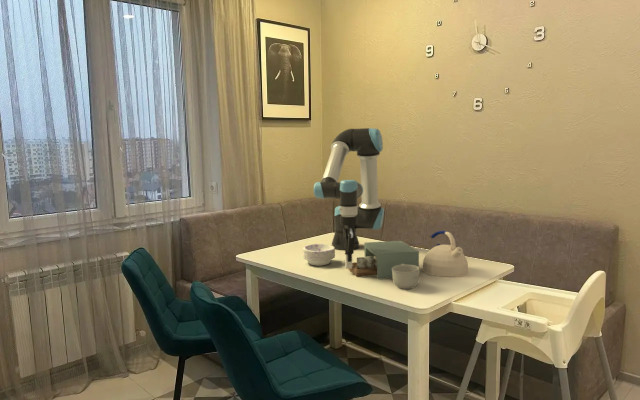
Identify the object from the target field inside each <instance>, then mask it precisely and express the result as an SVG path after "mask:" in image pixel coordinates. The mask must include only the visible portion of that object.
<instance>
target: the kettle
mask: <svg viewBox="0 0 640 400" xmlns="http://www.w3.org/2000/svg"><path fill="white" fill-rule="evenodd" d="M441 234H442V235H443V234H444V235H446V236H447V237H448V239H449V241H450V244H440V243H436V246H434V247H432V248H430V249H429V250H428V251H427V252H426V254H425V255H424V257H423V261H422V269H421V270H422V271H423V273H426V274H428V275H430V276H431V275H432V276H437V277H444V278H445V277H447V278H452V277H453V278H454V277H456V278H457V277H461V276H466V275H467V274H468V273H469V261H468V260H467V259H468V258H467V257H466V255H465V254H464V249H463V248H462V247H460V246H457V247H456V240H455V236H453V234H452V233H451V232H449V231H447V230H439V231H435V232H433V234H432V235H431V236H430V238H432V239H435V238H436V237H437V236H439V235H441Z"/></svg>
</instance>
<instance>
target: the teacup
mask: <svg viewBox="0 0 640 400" xmlns="http://www.w3.org/2000/svg"><path fill="white" fill-rule="evenodd" d="M392 276H393V278H392V281H393V284H394V285H395V286H397V288H398V289H401V290H409V289H410V290H411V289H414V288H416V286H417V285H418V284H419V283H420V282H419V281H420V266H419V267H418V266H415V265H406V264H401V265H397V266H394V267H393V268H392Z"/></svg>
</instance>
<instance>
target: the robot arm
mask: <svg viewBox="0 0 640 400" xmlns="http://www.w3.org/2000/svg"><path fill="white" fill-rule="evenodd" d="M383 148H384V147H383V137H382V134H381V130H379V129H378V128H373V127H372V128H371V127H364V128H348V129H345V130H343V131H342V132H340V133H339V134H338V135H336V137H334V139H333V141H332V142H331V146H330V151H331V152H330V155H329V157H328V160H327V163H326V166H325V170H324V172H323V174H322V178H321V181H316V182H315V183H314V185H313V195H314V197H315V198H316V199H324V200H325V199H326V200H327V199H328V200H329V199H333V200H336V199H338V200H339V205H337V206H336V207H335V208H334V235H333V238H332V241H331V245H332V246H334V247H335V250H339V251H340V250H341V251H344V256H345V269H347V270H348V269H350V268H352V263H353V254H354V252H355V251H354V250H356V249H359V248H360V241H359V237H358V234H357V230H380V229H382V226H383V223H384V216H385V208H384V207H382V205H381V204H382V203H380V202H379V193H378V156H380V152H382V151H383ZM351 152H356V156H357V157H358V158H359V159H360V160H359V163H360V165H359V166H360V182H358V181H357V180H355V179H343V180H340V182H339V179H340V176H341V172H342V169H343V167H344V162H345V159H346V156H348V155H349V153H351ZM359 198H361V202H360V203H359V204H358V199H359Z"/></svg>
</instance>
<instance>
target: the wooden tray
mask: <svg viewBox="0 0 640 400" xmlns="http://www.w3.org/2000/svg"><path fill="white" fill-rule="evenodd" d="M347 270H348V271H349V272H350V273H352V275H354V276H355V277H356V278H359V277H360V278H361V277H369V276H377V257H376V256H374V261H373V257H371V256H367V257H365V256H358V257H356V261H355V262H352V268H350V269H347Z"/></svg>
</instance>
